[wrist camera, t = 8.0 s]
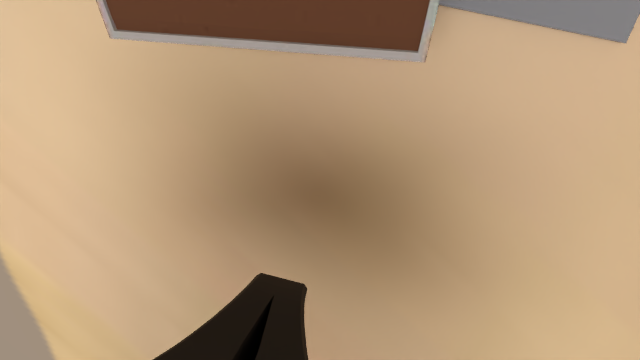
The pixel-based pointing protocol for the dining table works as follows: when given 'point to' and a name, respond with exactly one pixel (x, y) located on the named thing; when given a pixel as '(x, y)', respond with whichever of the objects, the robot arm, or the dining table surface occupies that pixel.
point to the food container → (281, 25)
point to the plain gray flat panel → (563, 14)
